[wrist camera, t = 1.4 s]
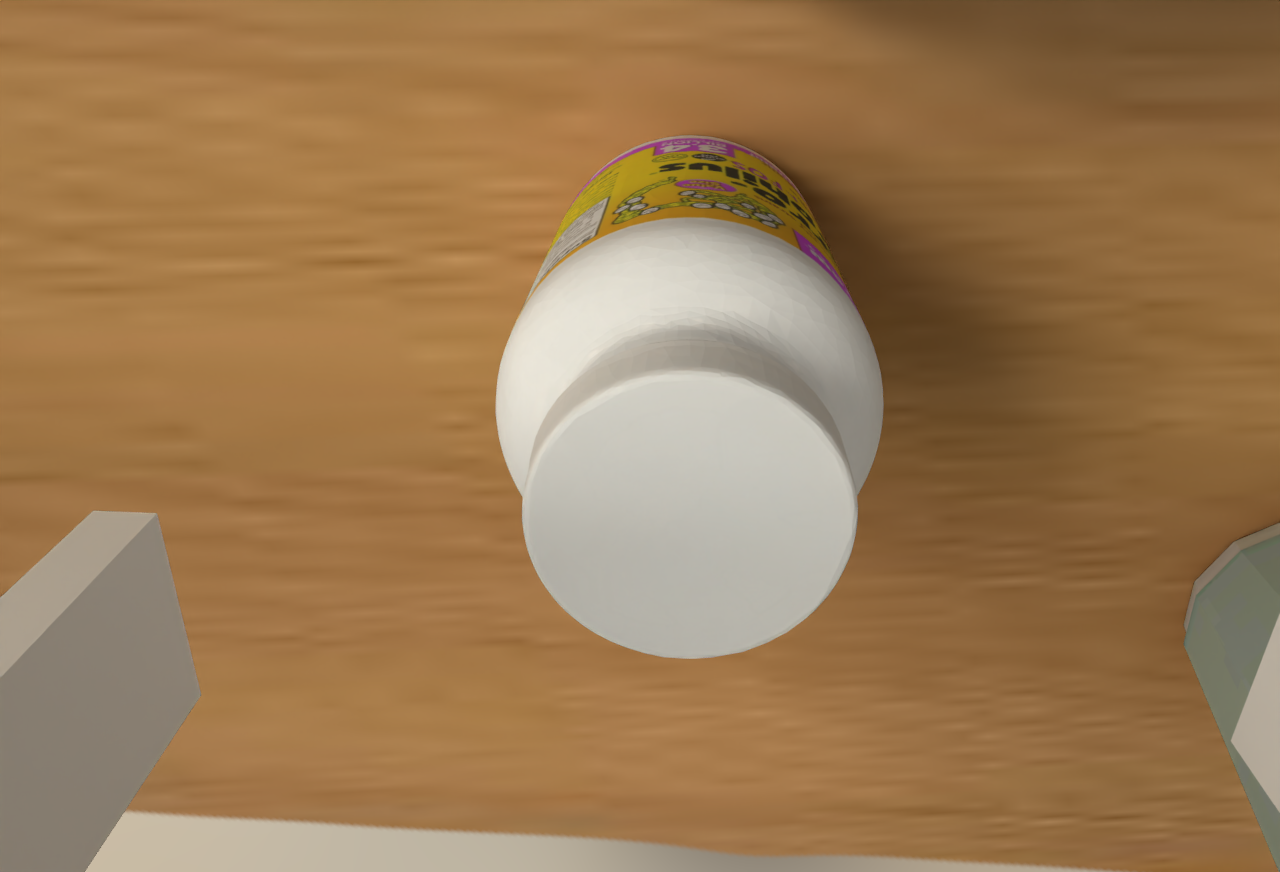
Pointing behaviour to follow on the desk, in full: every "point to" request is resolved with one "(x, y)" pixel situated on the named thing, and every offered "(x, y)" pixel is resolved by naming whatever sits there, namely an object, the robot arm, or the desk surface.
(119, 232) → the desk surface
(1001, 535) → the desk surface
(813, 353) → the supplement bottle
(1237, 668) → the disposable coffee cup
